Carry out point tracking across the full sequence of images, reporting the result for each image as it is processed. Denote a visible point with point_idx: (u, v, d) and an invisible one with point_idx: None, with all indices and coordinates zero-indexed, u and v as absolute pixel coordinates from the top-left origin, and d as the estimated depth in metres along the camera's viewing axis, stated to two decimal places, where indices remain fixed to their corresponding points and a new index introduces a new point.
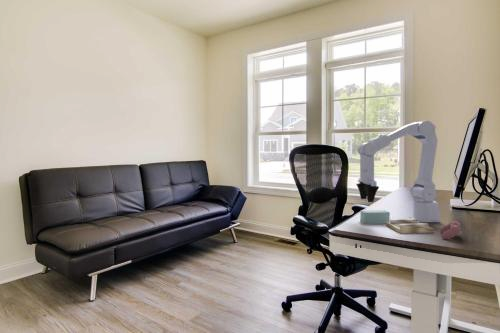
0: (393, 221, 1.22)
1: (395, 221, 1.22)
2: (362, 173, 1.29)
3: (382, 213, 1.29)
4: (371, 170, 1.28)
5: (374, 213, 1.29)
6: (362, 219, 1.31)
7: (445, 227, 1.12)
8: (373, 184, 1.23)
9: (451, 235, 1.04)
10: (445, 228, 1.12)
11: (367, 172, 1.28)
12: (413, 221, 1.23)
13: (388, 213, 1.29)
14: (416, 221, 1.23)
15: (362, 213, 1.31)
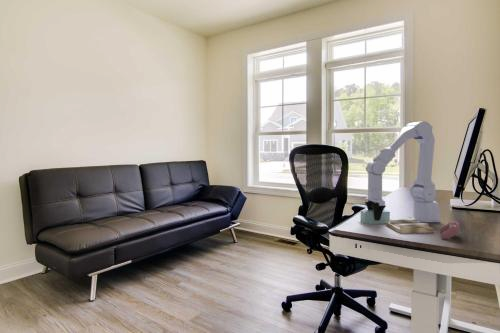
0: (393, 221, 1.22)
1: (395, 221, 1.22)
2: (370, 192, 1.29)
3: (382, 213, 1.29)
4: (379, 189, 1.28)
5: None
6: (362, 219, 1.31)
7: (444, 227, 1.12)
8: (381, 204, 1.23)
9: (450, 235, 1.05)
10: (444, 228, 1.12)
11: (375, 191, 1.28)
12: (413, 221, 1.23)
13: (388, 213, 1.29)
14: (416, 221, 1.23)
15: (362, 213, 1.31)
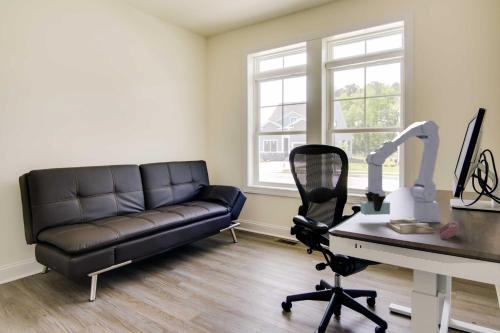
0: (393, 221, 1.22)
1: (395, 221, 1.22)
2: (370, 183, 1.29)
3: (382, 204, 1.29)
4: (379, 180, 1.27)
5: None
6: (362, 210, 1.31)
7: (443, 227, 1.13)
8: (381, 194, 1.23)
9: (449, 235, 1.05)
10: (443, 228, 1.12)
11: (375, 182, 1.27)
12: (413, 221, 1.23)
13: (388, 204, 1.29)
14: (416, 221, 1.23)
15: (362, 204, 1.31)
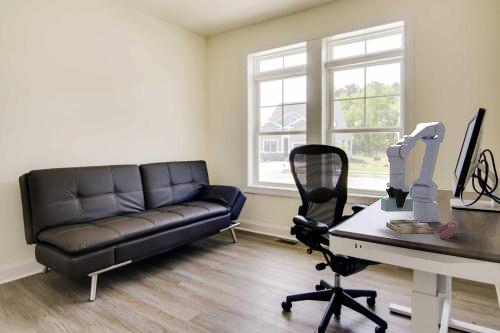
0: (393, 221, 1.22)
1: (395, 221, 1.22)
2: (392, 177, 1.21)
3: (405, 200, 1.20)
4: (402, 174, 1.19)
5: None
6: (383, 206, 1.23)
7: (443, 227, 1.13)
8: (405, 189, 1.15)
9: (449, 235, 1.05)
10: (443, 228, 1.13)
11: (398, 176, 1.19)
12: (413, 221, 1.23)
13: (411, 200, 1.20)
14: (416, 221, 1.23)
15: (383, 200, 1.23)
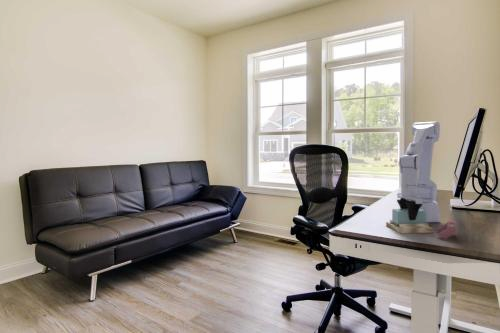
0: None
1: None
2: (404, 188, 1.17)
3: None
4: (415, 185, 1.16)
5: None
6: (395, 218, 1.19)
7: (442, 227, 1.13)
8: (419, 201, 1.11)
9: (448, 235, 1.05)
10: (442, 228, 1.13)
11: (410, 188, 1.16)
12: None
13: (424, 212, 1.17)
14: None
15: (395, 212, 1.19)
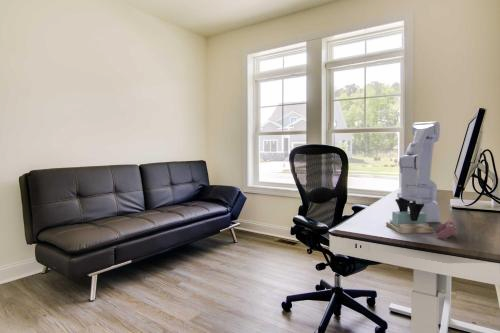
0: None
1: None
2: (404, 188, 1.17)
3: None
4: (415, 185, 1.16)
5: (409, 214, 1.17)
6: (395, 221, 1.19)
7: (441, 227, 1.13)
8: (419, 201, 1.11)
9: (447, 235, 1.05)
10: (441, 228, 1.13)
11: (410, 188, 1.16)
12: None
13: (424, 214, 1.17)
14: None
15: (395, 214, 1.19)
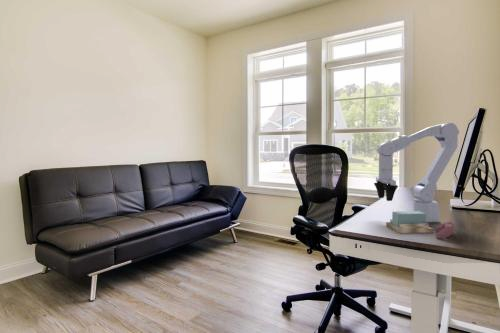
0: None
1: None
2: (381, 172, 1.32)
3: (417, 214, 1.17)
4: (390, 170, 1.31)
5: (409, 214, 1.17)
6: (395, 221, 1.19)
7: (440, 227, 1.13)
8: (393, 183, 1.27)
9: (446, 234, 1.05)
10: (440, 228, 1.13)
11: (386, 171, 1.31)
12: None
13: (424, 214, 1.17)
14: None
15: (395, 214, 1.19)
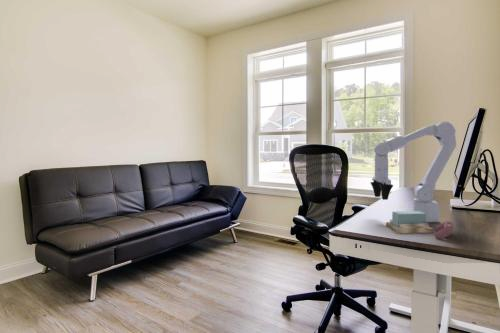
0: None
1: None
2: (377, 172, 1.36)
3: (417, 214, 1.17)
4: (385, 169, 1.34)
5: (409, 214, 1.17)
6: (395, 221, 1.19)
7: (438, 227, 1.13)
8: (388, 182, 1.30)
9: (444, 234, 1.05)
10: (438, 228, 1.13)
11: (382, 171, 1.34)
12: None
13: (424, 214, 1.17)
14: None
15: (395, 214, 1.19)
